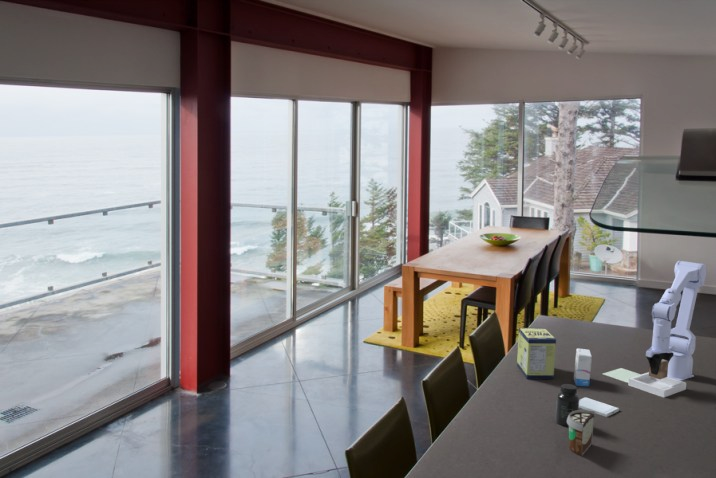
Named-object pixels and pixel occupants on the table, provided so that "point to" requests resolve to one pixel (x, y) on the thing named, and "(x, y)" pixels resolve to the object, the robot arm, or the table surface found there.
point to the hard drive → (597, 407)
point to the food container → (580, 430)
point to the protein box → (536, 353)
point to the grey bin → (657, 385)
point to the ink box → (582, 367)
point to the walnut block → (661, 370)
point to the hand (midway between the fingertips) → (658, 372)
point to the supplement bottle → (566, 403)
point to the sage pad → (621, 374)
